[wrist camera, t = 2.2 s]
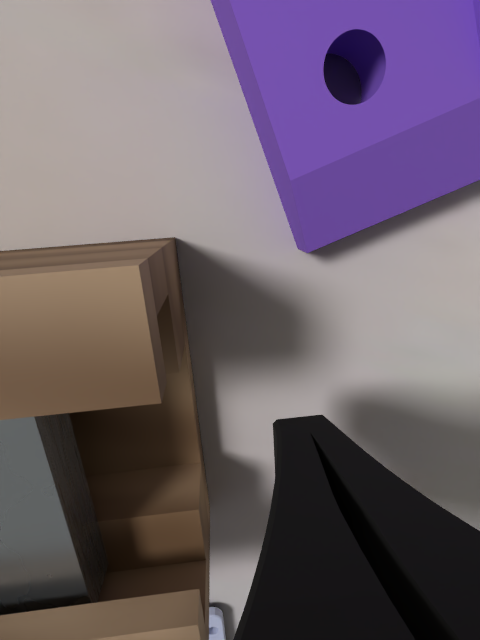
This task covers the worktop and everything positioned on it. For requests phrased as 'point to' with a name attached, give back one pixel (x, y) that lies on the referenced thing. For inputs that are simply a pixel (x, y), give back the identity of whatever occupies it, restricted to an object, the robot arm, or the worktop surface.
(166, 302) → the sleeve box
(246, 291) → the worktop surface
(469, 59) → the bracket
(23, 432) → the cover plate
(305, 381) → the worktop surface
